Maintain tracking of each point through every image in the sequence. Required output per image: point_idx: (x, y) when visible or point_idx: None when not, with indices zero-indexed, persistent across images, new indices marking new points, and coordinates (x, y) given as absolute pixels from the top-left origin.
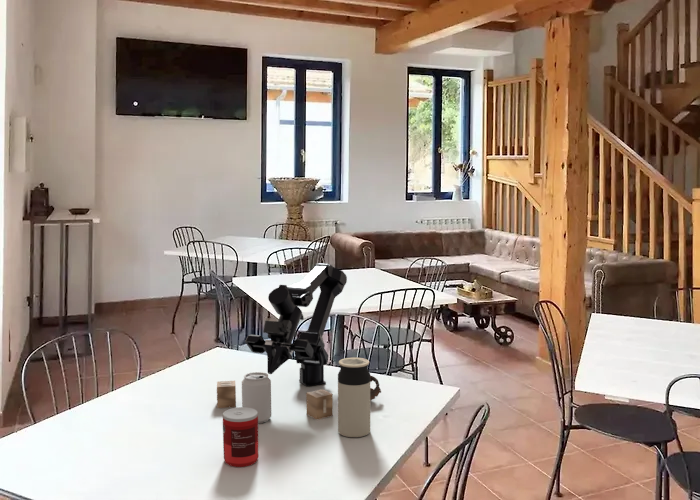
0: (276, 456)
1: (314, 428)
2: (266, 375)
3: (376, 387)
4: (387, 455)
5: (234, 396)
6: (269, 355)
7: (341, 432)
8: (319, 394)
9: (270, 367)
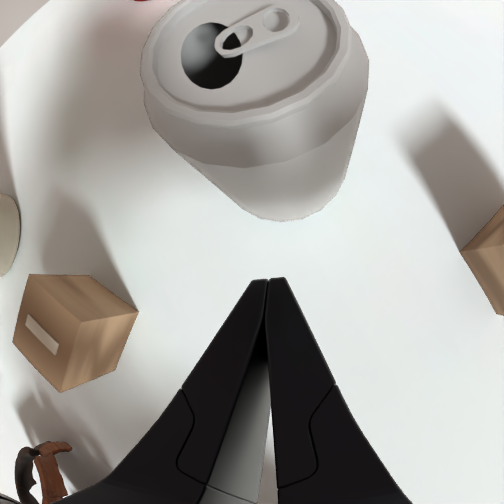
0: (101, 28)
1: (69, 203)
2: (170, 96)
3: (15, 471)
4: None
5: (485, 244)
6: (326, 461)
7: (6, 195)
8: (35, 318)
9: (257, 313)
